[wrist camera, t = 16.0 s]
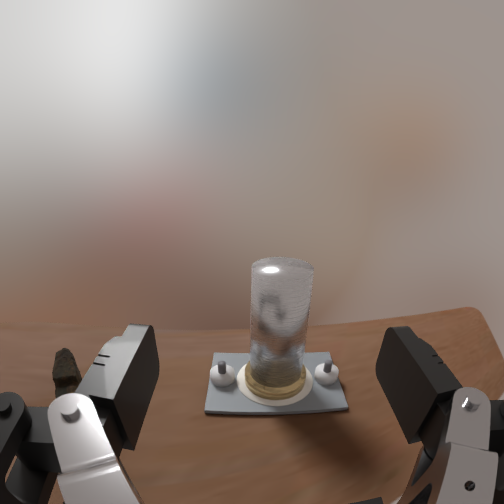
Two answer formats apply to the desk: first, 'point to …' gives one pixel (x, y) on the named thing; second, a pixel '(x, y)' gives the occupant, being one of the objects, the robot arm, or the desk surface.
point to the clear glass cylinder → (278, 327)
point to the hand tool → (65, 374)
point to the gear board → (246, 403)
